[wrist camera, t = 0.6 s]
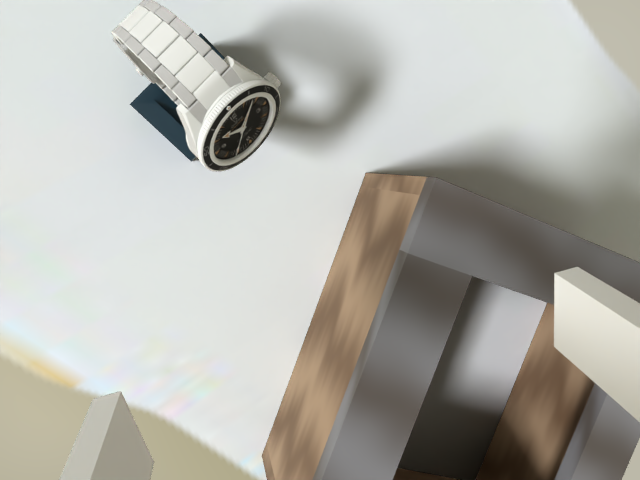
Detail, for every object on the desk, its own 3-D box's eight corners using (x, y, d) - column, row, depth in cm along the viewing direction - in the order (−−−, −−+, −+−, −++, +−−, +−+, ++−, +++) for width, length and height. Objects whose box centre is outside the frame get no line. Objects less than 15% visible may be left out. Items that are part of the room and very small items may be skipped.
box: (365, 172, 32) (436, 177, 22) (576, 257, 38) (703, 289, 28) (262, 455, 33) (286, 572, 24) (479, 494, 39) (569, 600, 30)
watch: (215, 183, 29) (223, 194, 19) (113, 88, 27) (59, 41, 17) (274, 121, 30) (315, 98, 19) (179, 22, 27) (166, -65, 17)
